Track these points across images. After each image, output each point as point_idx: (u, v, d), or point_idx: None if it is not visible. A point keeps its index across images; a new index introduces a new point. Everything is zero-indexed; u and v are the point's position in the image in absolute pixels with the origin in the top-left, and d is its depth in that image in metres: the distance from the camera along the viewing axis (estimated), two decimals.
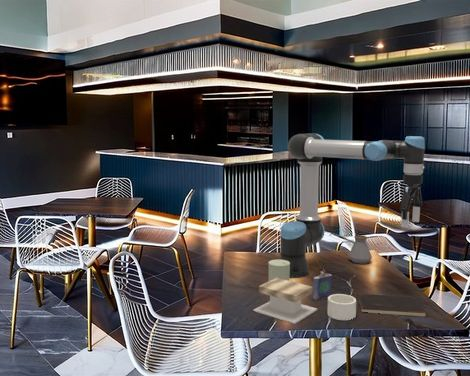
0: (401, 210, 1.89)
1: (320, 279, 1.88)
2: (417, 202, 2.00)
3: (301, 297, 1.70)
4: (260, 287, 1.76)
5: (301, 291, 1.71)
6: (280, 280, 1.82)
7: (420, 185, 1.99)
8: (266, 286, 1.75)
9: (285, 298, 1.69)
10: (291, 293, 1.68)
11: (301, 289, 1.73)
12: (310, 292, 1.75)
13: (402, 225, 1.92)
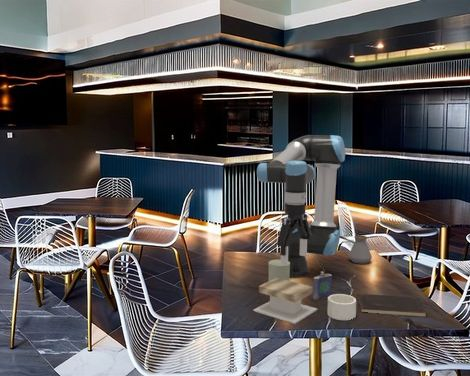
0: (278, 245, 1.67)
1: (320, 279, 1.88)
2: (303, 234, 1.78)
3: (301, 297, 1.70)
4: (260, 287, 1.76)
5: (301, 291, 1.71)
6: (280, 280, 1.82)
7: (306, 215, 1.77)
8: (266, 286, 1.75)
9: (285, 298, 1.69)
10: (291, 293, 1.68)
11: (301, 289, 1.73)
12: (310, 292, 1.75)
13: (281, 261, 1.70)
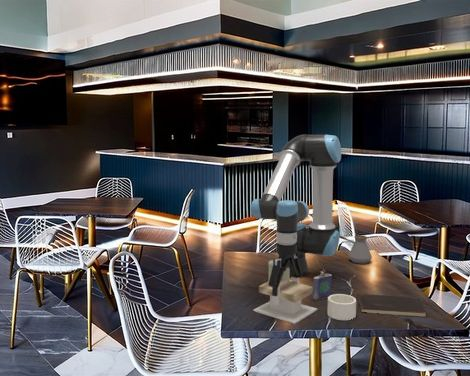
0: (270, 286, 1.69)
1: (320, 279, 1.88)
2: (295, 273, 1.79)
3: (301, 297, 1.70)
4: (260, 287, 1.76)
5: (301, 291, 1.71)
6: None
7: (298, 254, 1.78)
8: (266, 286, 1.75)
9: (285, 298, 1.69)
10: (291, 293, 1.68)
11: (301, 289, 1.73)
12: (310, 292, 1.75)
13: (273, 301, 1.72)
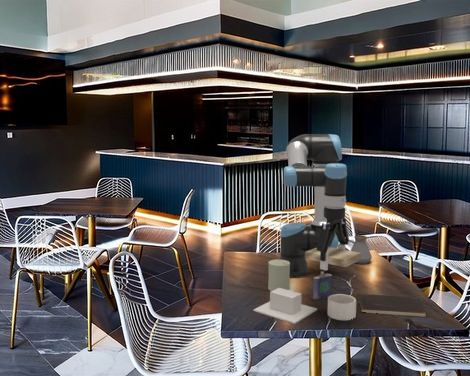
0: (318, 250, 1.64)
1: (320, 279, 1.88)
2: (342, 239, 1.74)
3: (350, 262, 1.64)
4: (306, 253, 1.71)
5: (350, 256, 1.65)
6: None
7: (345, 219, 1.73)
8: (312, 252, 1.70)
9: (334, 263, 1.64)
10: (341, 258, 1.63)
11: (350, 255, 1.67)
12: (358, 258, 1.69)
13: (321, 267, 1.67)
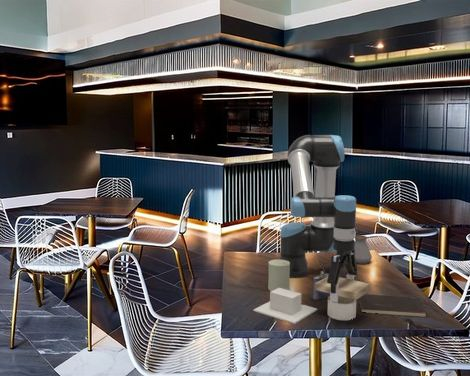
0: (329, 283, 1.65)
1: (320, 279, 1.88)
2: (350, 270, 1.75)
3: (360, 294, 1.66)
4: (316, 284, 1.72)
5: (360, 288, 1.67)
6: None
7: (354, 250, 1.74)
8: (322, 284, 1.71)
9: (344, 295, 1.65)
10: (351, 291, 1.64)
11: (360, 286, 1.69)
12: (368, 289, 1.71)
13: (331, 299, 1.68)
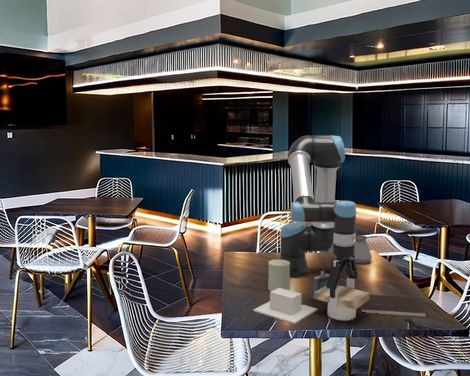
0: None
1: (320, 279, 1.88)
2: (351, 274, 1.76)
3: (360, 304, 1.66)
4: (316, 293, 1.72)
5: (359, 297, 1.67)
6: None
7: (354, 255, 1.74)
8: (322, 293, 1.72)
9: (344, 305, 1.66)
10: (351, 300, 1.65)
11: (359, 295, 1.69)
12: (367, 298, 1.71)
13: (330, 304, 1.68)
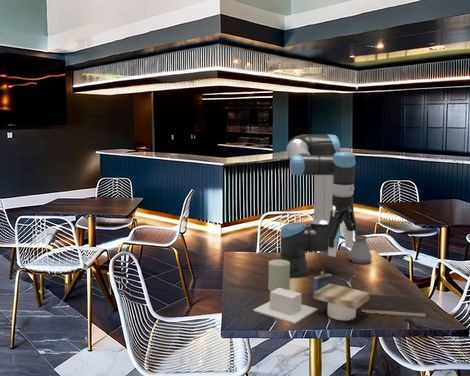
0: (327, 237, 1.66)
1: (320, 279, 1.88)
2: (350, 226, 1.77)
3: (360, 304, 1.66)
4: (316, 293, 1.72)
5: (359, 297, 1.67)
6: (335, 286, 1.79)
7: (352, 207, 1.76)
8: (322, 293, 1.72)
9: (344, 305, 1.66)
10: (351, 300, 1.65)
11: (359, 295, 1.69)
12: (367, 298, 1.71)
13: (329, 254, 1.69)
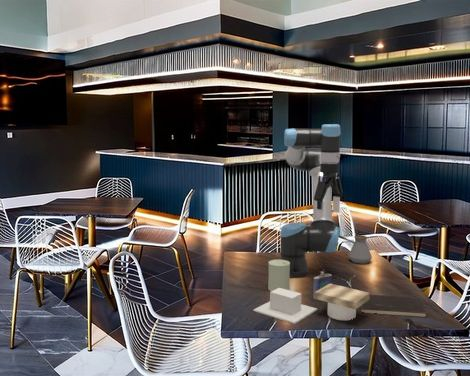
0: (315, 199, 1.85)
1: (320, 279, 1.88)
2: (336, 192, 1.96)
3: (360, 304, 1.66)
4: (316, 293, 1.72)
5: (359, 297, 1.67)
6: (335, 286, 1.79)
7: (339, 174, 1.94)
8: (322, 293, 1.72)
9: (344, 305, 1.66)
10: (351, 300, 1.65)
11: (359, 295, 1.69)
12: (367, 298, 1.71)
13: (318, 215, 1.88)
